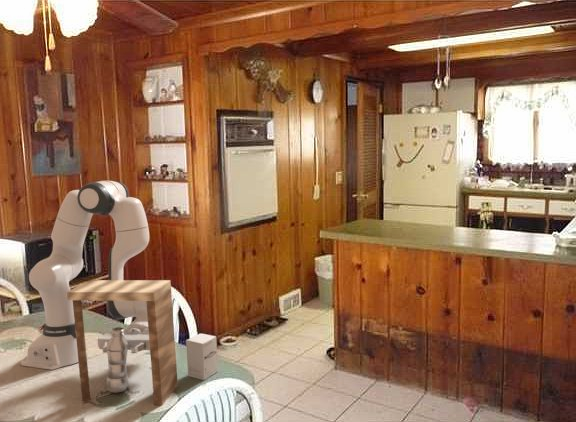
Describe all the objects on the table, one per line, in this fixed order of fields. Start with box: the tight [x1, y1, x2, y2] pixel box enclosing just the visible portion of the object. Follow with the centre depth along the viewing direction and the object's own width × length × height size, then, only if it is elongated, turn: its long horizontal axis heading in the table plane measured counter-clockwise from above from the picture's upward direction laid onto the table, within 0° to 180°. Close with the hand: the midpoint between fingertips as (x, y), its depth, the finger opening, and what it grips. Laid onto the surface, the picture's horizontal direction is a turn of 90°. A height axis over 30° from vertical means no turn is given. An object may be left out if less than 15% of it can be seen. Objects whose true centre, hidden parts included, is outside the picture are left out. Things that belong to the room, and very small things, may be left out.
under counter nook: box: [67, 279, 179, 406], centre depth 157 cm, size 27×13×34 cm, turn 82°
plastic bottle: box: [105, 326, 129, 394], centre depth 160 cm, size 6×7×20 cm
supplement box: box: [185, 333, 219, 381], centre depth 170 cm, size 7×7×13 cm
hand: (119, 350), depth 159 cm, fingers open, 8 cm apart
